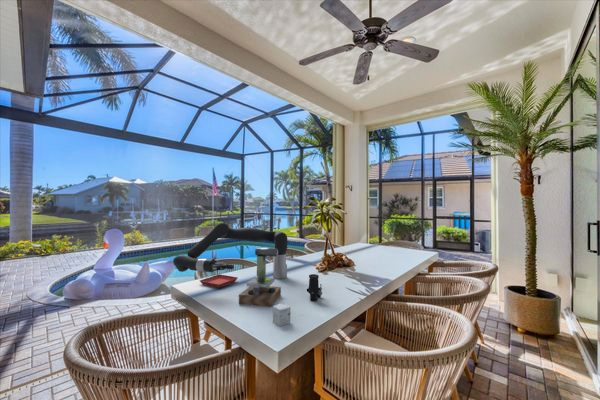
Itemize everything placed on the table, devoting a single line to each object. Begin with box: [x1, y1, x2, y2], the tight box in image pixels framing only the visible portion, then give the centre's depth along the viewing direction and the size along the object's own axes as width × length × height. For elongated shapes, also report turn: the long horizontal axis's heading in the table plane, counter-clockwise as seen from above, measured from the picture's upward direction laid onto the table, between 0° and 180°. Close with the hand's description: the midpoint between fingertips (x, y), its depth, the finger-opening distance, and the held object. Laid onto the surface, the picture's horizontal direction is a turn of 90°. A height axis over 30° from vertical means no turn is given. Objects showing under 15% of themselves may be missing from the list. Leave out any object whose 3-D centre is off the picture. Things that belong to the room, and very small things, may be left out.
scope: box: [306, 273, 323, 303], centre depth 148 cm, size 8×14×10 cm
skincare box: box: [272, 302, 292, 327], centre depth 119 cm, size 6×6×7 cm
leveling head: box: [246, 247, 278, 288], centre depth 147 cm, size 15×13×22 cm
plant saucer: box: [199, 273, 239, 289], centre depth 176 cm, size 18×18×3 cm
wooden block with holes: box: [238, 285, 282, 308], centre depth 147 cm, size 18×18×9 cm
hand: (233, 267), depth 151 cm, fingers closed
